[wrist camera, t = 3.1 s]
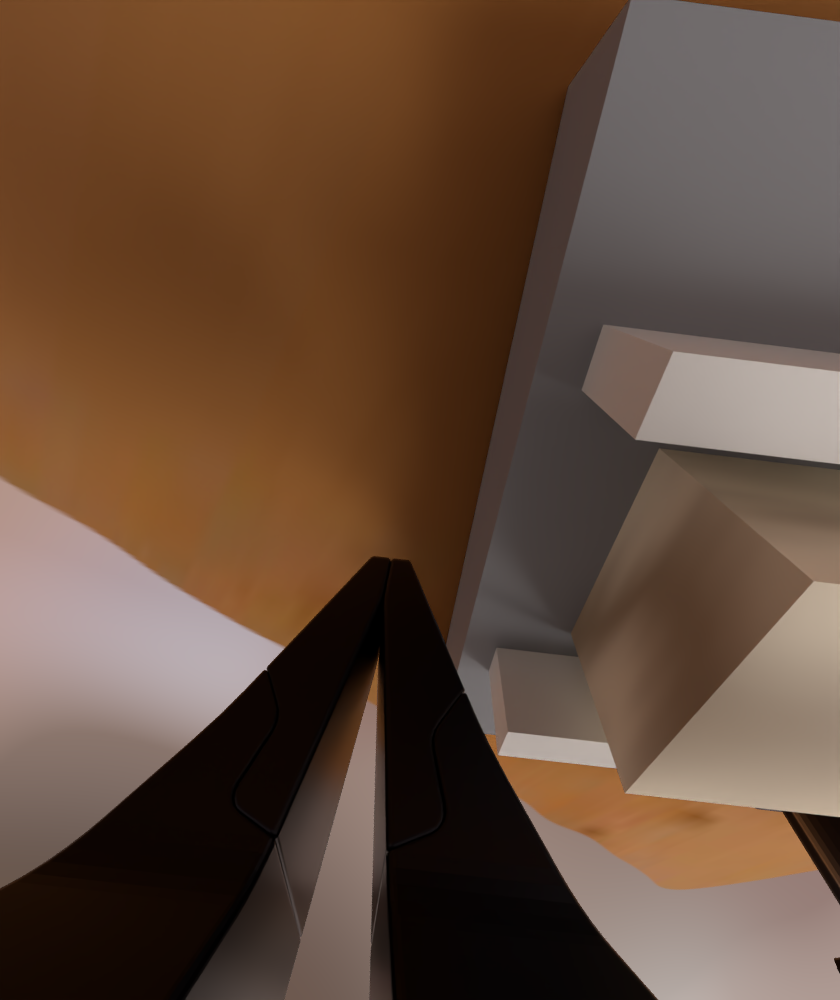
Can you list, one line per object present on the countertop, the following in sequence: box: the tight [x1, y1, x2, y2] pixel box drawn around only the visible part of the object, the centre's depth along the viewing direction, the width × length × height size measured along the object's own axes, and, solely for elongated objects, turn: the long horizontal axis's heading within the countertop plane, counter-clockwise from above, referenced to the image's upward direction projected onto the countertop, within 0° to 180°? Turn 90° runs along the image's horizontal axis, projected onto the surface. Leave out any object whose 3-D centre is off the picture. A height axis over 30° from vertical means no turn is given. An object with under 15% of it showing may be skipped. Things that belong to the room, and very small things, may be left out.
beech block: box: [571, 448, 840, 817], centre depth 8 cm, size 6×6×4 cm
